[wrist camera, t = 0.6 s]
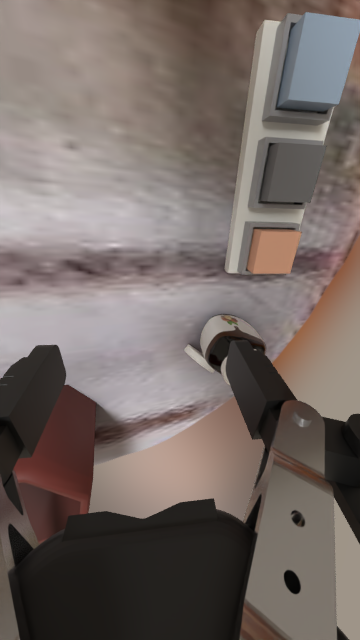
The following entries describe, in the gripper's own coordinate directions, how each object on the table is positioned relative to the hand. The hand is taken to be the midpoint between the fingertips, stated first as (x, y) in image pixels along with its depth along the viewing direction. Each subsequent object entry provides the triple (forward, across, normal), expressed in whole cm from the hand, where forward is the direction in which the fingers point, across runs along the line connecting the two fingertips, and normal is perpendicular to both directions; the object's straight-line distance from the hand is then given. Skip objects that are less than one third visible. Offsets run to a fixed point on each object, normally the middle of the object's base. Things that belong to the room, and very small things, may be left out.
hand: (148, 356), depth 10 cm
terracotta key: (+23, -17, 0) cm, 28 cm away
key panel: (+26, -17, -9) cm, 33 cm away
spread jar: (+26, -12, +17) cm, 34 cm away
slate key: (+23, -17, -18) cm, 34 cm away
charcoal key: (+23, -17, -9) cm, 30 cm away
